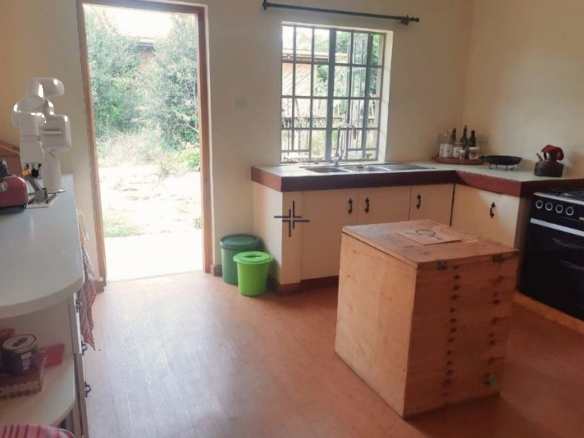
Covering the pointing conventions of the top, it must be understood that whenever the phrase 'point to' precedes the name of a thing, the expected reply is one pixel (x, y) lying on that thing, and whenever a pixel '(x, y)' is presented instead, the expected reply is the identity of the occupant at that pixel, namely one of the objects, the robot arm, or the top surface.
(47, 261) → the top surface
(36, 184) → the lever
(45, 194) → the panel
